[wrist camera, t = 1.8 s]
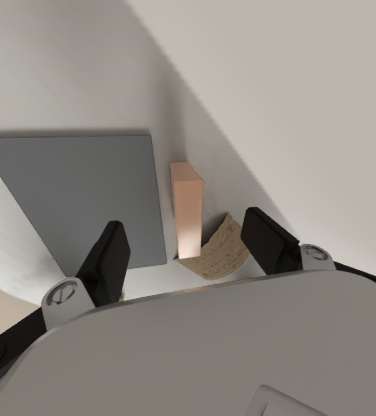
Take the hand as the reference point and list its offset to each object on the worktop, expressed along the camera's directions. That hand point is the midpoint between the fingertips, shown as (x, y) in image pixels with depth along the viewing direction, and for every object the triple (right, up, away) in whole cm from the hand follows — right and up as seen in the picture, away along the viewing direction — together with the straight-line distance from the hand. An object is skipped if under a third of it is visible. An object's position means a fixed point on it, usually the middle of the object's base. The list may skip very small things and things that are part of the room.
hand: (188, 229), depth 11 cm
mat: (-12, 0, +9) cm, 15 cm away
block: (-1, +4, +9) cm, 9 cm away
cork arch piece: (+5, -6, +16) cm, 17 cm away
